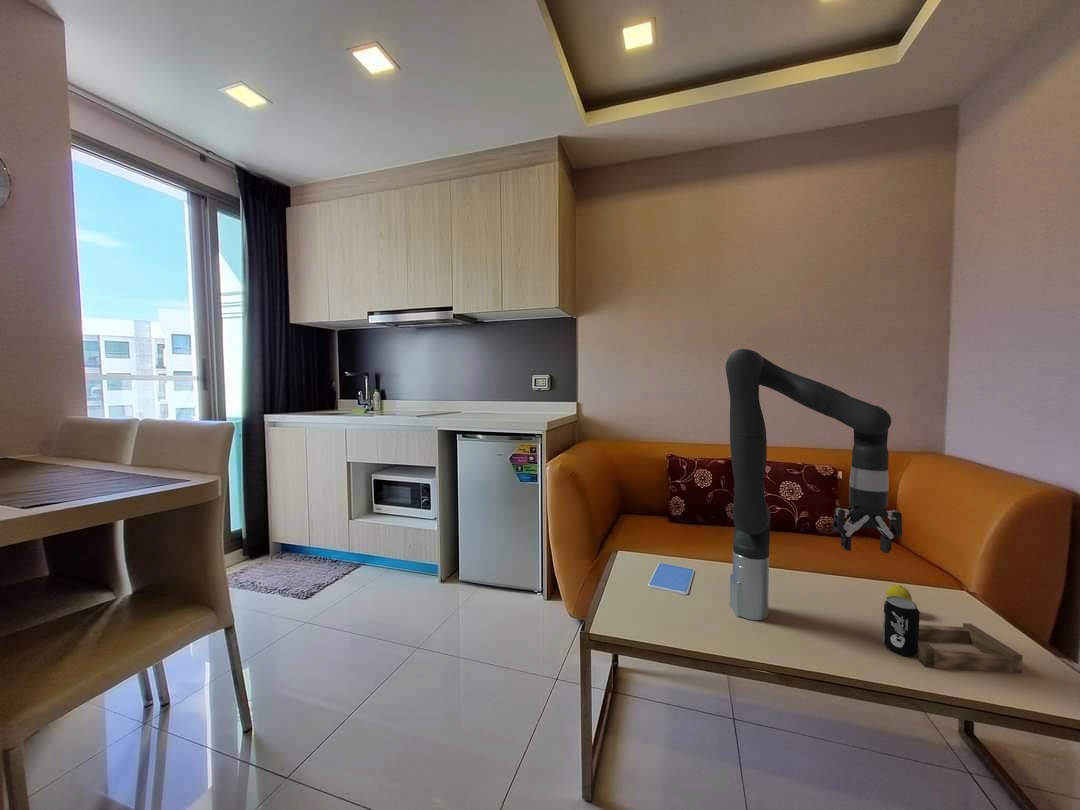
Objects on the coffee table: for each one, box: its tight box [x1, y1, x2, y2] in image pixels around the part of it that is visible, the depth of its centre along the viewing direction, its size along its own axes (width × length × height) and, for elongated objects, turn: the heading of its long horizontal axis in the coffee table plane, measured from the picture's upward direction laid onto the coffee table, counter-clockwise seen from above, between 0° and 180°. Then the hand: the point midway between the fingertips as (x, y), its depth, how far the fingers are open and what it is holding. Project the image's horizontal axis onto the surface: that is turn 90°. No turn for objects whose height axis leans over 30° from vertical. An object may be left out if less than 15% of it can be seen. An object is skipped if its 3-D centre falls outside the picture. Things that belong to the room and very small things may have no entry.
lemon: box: [885, 584, 913, 601], centre depth 118 cm, size 6×6×8 cm
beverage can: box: [882, 596, 921, 657], centre depth 102 cm, size 7×7×12 cm
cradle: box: [918, 622, 1023, 674], centre depth 100 cm, size 20×13×4 cm, turn 84°
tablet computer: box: [647, 562, 695, 596], centre depth 140 cm, size 19×13×1 cm, turn 153°
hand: (865, 551), depth 103 cm, fingers open, 8 cm apart
